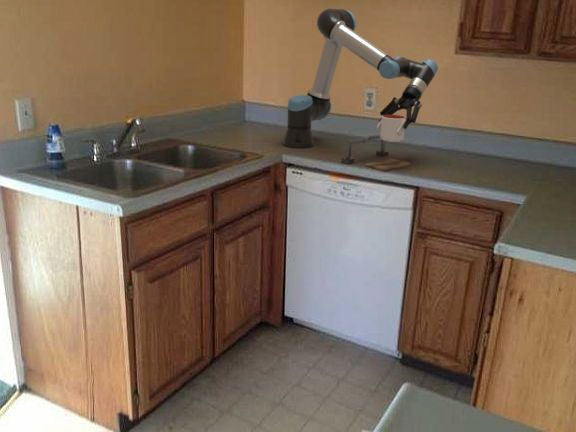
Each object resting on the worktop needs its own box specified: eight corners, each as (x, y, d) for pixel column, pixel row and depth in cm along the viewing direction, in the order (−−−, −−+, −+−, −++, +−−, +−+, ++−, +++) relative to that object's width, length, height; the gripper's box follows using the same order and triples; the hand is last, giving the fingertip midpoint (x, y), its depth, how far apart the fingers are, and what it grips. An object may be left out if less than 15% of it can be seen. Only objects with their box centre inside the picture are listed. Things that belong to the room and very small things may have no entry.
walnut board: (364, 166, 234) (364, 164, 234) (390, 160, 246) (390, 158, 245) (385, 171, 226) (385, 169, 226) (410, 165, 238) (410, 163, 238)
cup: (403, 143, 226) (405, 119, 223) (379, 141, 228) (381, 117, 225) (403, 138, 236) (405, 115, 232) (380, 136, 237) (382, 114, 234)
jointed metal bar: (340, 162, 239) (342, 140, 235) (380, 153, 256) (382, 133, 253) (348, 164, 235) (350, 142, 232) (388, 155, 253) (390, 135, 250)
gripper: (439, 100, 228) (413, 141, 223) (396, 94, 244) (370, 132, 239) (433, 88, 223) (406, 130, 218) (389, 82, 238) (363, 121, 234)
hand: (388, 131), depth 229 cm, fingers closed on cup, 10 cm apart
